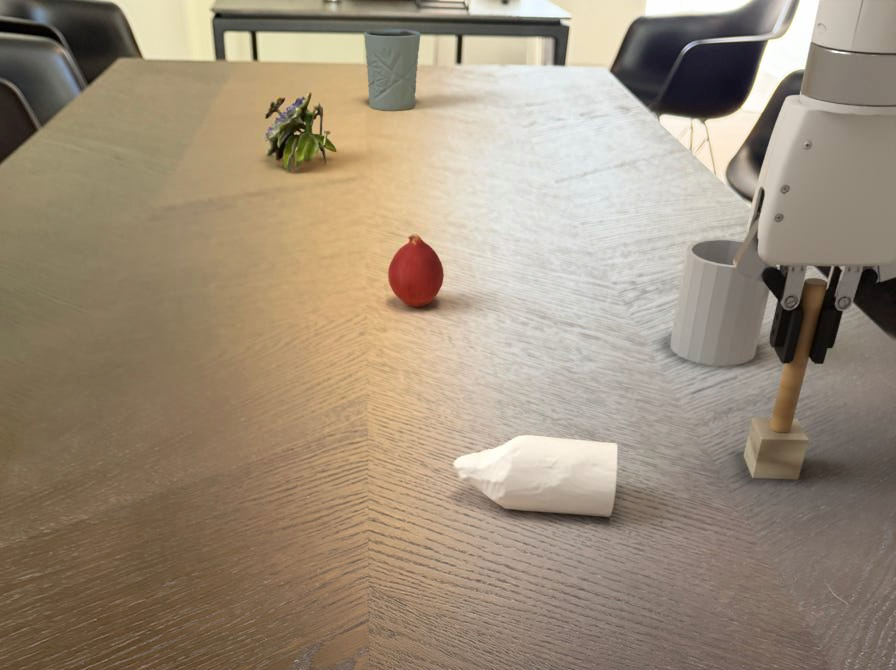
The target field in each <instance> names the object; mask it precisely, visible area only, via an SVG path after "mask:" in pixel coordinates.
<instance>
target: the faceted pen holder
mask: <svg viewBox="0 0 896 670" xmlns="http://www.w3.org/2000/svg"><path fill="white" fill-rule="evenodd" d="M744 240H745V239H736V238H722V237H721V238H719V237H718V238H707V239H701V240H696V241H693V242H692V243H690V244H688V245H687V248H686V249H685V256H684V261H683V267H682V273H681V278H680V284H679V290H678V294H677V295H678V296H677V301H676V306H675V307H676V308H675V313H674V318H673V326H672V331H671V336H670V341H669V342H670V343H669V346H670V349H671V351H672V352H674V353H675V354H676V355H677V356H679V357H680V358H683V359H684V360H687V361H690V362H694V363H697V364H700V365H707V366H716V367H717V366H719V367H728V366H729V367H730V366H737V365H742V364H746V363H748V362H750V361H751V360H752V359H754V358H755V356H756V353H757V349H758V345H759V339H760V337H761V331H762V326H763V323H764V318H765V313H766V309H767V306H768V301H769V296H770V292H771V291H770V289H769V288H768V287H767V286H766V284H765V283H763V282H761V281H757V280H755V279H752V278H750V277H748V276H745V275H743V274H741V273H739V272H737V270H736V268H735V266H734V264H733V260H734V257H735V256H736V254H737V252H738V250H739V249H740V247H741V245H742V243H743V242H744Z"/></svg>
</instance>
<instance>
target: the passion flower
mask: <svg viewBox="0 0 896 670" xmlns="http://www.w3.org/2000/svg"><path fill="white" fill-rule="evenodd" d="M312 94H313V93H312V91H309V92H307V95H306V97H305V96H302V97H298V98H296V100H295V101H294V102H292V103H291V105H290V106H288V107H286V110H285V109H283V111H281V110H280V109H279V108H280V107H281V106H282V105H283V104H284V102H285V101H286V97H284V96H283V97H280V96H278V97H277V99H276V100H275V102H274V101H271V102H270V104H269V106H270V107H269V108H268V110H267V111H266V112H265V113H264V114H265V116H264V118H265V120H268V119H269V118H270V117H271V116H272V115H273V114H274V113H277V114H278V116H277V117H275V120H274V123H271V126H269V127H268V128H267V131H266V132H265V136H266V137H264V140H265V142H267V141H268V144H269V147H268V150H267V153H266V156H267V157H271V156H273V158H274V159H275V161H280V160H282V159H283V160H282V162H283V166H284V169H285V170H287V172H288V173H291V171H292V170H291V169H292V168H291V167H292V163H293V160H294V164H295V167H296V168H299V167H301V166H302V165H304V163H305V162H306V163H310V162H312V161H313V160H315V158H316V157H317V155H318V154H319V150H320V152H321V154H322V157H323V160H324V164H325V165H327V164H328V163H327V158H326V157H327V156H326V150H328V151H330V152H333V153H337V148H336V146H335V145H334V144H333V142H332V141H331V140H330V139H329V138H328V136H329V135H331V131H330V130H324V131H323V120H324V119H323V117H324V108H323V106H322V105H321V103H320V102H319V101H317V102H316V103H315V104H314V105H312V108H313V110H312V111H311V110H309V108H308V107H309V104H310V102H311V99H312ZM318 116H319V118H320V119H319V133H313V125H314V121H315V120H316V119H317V117H318ZM302 130H303V131H302ZM297 132H298V133H299V134H297ZM323 133H324V134H323ZM266 138H267V139H266Z"/></svg>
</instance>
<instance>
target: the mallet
mask: <svg viewBox="0 0 896 670" xmlns="http://www.w3.org/2000/svg"><path fill="white" fill-rule="evenodd" d="M827 284H828V283H827V280H825V279H823V278H818V277H810V278H805V279H804V283H803V288H802V293H801V297H800V298H801V300H802V301H801V305H800V307H801V308H802V310H803V311H804V318H803V322H802V326H801V330H800V334H799V338H798V343H797V347H796V351H795V355H794V359H793V361H792V362H790V363H783V364H784V365H783V368H782V372H781V377H780V381H779V386H778V389H777V394H776V397H775V401H774V406H773V410H772V415H771V417H752V418H751V421H750V426H749V430H748V434H747V439H746V444H745V447H744V452H743V458H744V459H743V460H744V461H745V463H746V465H747V468H748V471H749V473H750V476H751V478H753V479H773V480H774V479H775V480H799V478H800V475H801V471H802V466H803V463H804V459H805V456H806V451H807V449H808V446H809V445H808V444H809V441H810V440H809V438H808V436H807V434H806V432H805V430H804V428H803V426H802V424H801V423H800V420H799V418H795V414H796V410H797V407H798V403H799V398H800V395H801V391H802V386H803V383H804V379H805V375H806V371H807V367H808V363H809V360H810V357H809V355H810V352H811V348H812V344H813V340H814V336H815V332H816V328H817V324H818V320H819V316H820V312H821V308H822V304H823V300H824V296H825V292H826V288H827Z"/></svg>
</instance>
